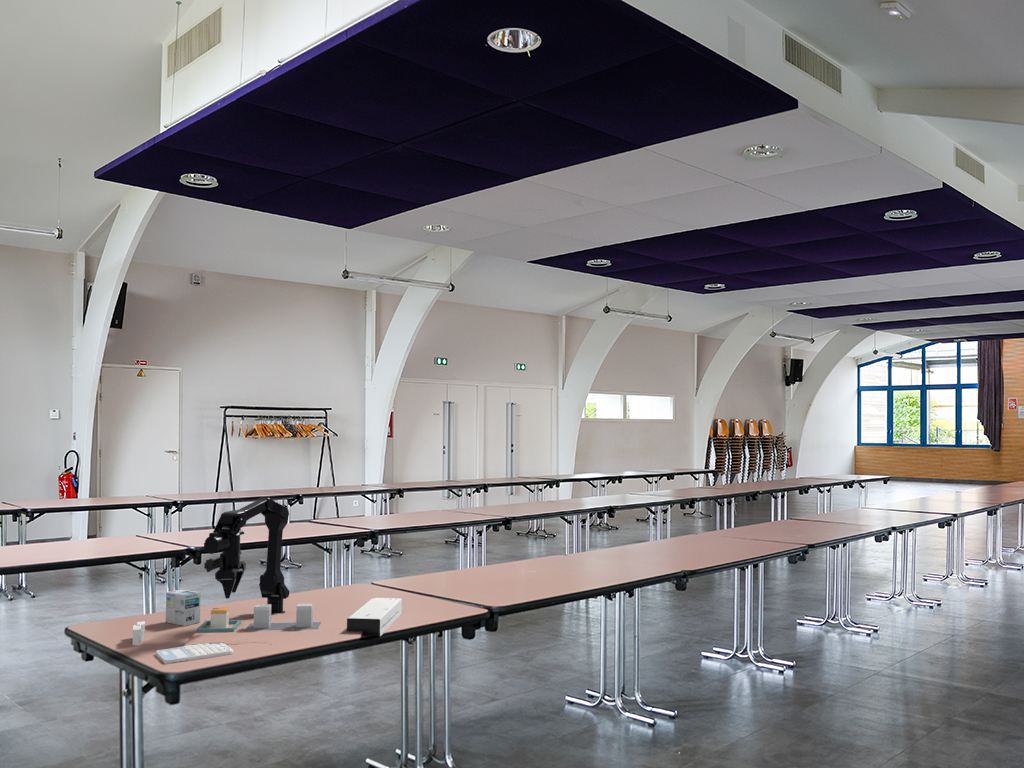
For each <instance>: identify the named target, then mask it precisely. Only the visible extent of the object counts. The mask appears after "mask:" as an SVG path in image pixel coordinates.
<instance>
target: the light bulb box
mask: <svg viewBox="0 0 1024 768" xmlns="http://www.w3.org/2000/svg"><path fill="white" fill-rule="evenodd" d="M165 593H166V594H165V623H166V622H167V624H173V625H177V626H183V627H186V626H190V625H195V624H199V623H201V597H202V596H201V591H195V590H188V589H176V590H171V591H170V590H169V591H166V592H165Z"/></svg>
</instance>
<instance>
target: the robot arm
mask: <svg viewBox="0 0 1024 768" xmlns="http://www.w3.org/2000/svg"><path fill="white" fill-rule="evenodd" d="M260 514H261V515H262V516H263V517H264V524H265V526H266V528H267V530H268V537H267V538H268V539H267V553H266V554H267V555H266V565H265V566H266V567H265V568H266V570H265V571H264V572H263V574H260V576H259V585H258V587H259V590H260V594H261V595H260V596H261V598H262V599H266V601H267V602H266V604H271V615H272V614H274V615H276V614H285V613H286V610H284V599H286V600H287V598H289V597H290V590H289V589H288V587H287V585H286V584H285V576H284V574H283V572H282V571H281V567H282V566H281V564H282V563H281V562H282V548H283V547H282V546H283V533H284V532H283V531H284V529H285V527H286V526H287V524H288V522H289V516H290V511H289V509H288V507H286V506H284V505H283V504H281V503H278V502H276V501H275V500H274V499H272V498H270V497H259V498H257V500H255V501H252V502H251V503H249V504H247V505H245V506H242V507H241V508H239V509H235V510H234V509H233V510H227V511H224V512H222V513H221V514H220V517H219V519H218V520H217V523H216V525H215V528H213V531H212V532H209V534H208V535H209V536H208V537H206V538H205V541H204V543H203V548H204V550H205V551H206V553H207V554H210V555H214V554H218V553H220V552H221V553H220V555H219V556H218V557H217V558H212V557H211V558H209V559H206V560H205V562H204V563H203V565H204V566H203V568H204V569H205V570H206V573H209V572H212V571H213V570H216V569H218V570H217V571H216V572H215V575H214V579H215V580H216V581H217V582H219V583H220V584H221V585H222V590H223V593H224V597H225V599H230V597H231V594H234V593H236V592H237V589H239V588H238V587H239V584H240V583H241V580H242V578H243V575H244V573H245V570H246V569H247V567H246V566H247V565H246V564H247V563H246V562H245V561H244V560H241V555H242V550H241V536H242V535H244V534H245V531H244V530H242V528H244V526H245V525H246V524H247V521H249V520H251V519H252V518H254V517H256V516H257V515H260Z"/></svg>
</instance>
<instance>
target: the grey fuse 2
mask: <svg viewBox="0 0 1024 768" xmlns="http://www.w3.org/2000/svg"><path fill="white" fill-rule="evenodd" d="M295 613H296V616H295V617H296V618H295V619H296V621H295V623H296V627H312V625H313V622H314V603H297V605H296V612H295Z"/></svg>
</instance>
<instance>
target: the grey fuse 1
mask: <svg viewBox="0 0 1024 768" xmlns="http://www.w3.org/2000/svg"><path fill="white" fill-rule="evenodd" d="M253 623H254V628H269V627H270V626H271V623H272V614H271V604H267V603H265V604H263V603H262V604H255V605H254V606H253Z"/></svg>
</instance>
